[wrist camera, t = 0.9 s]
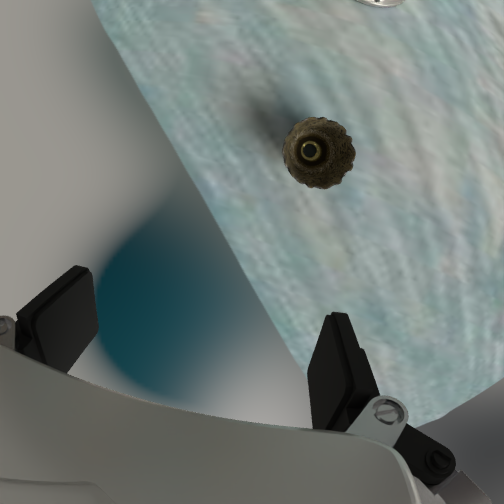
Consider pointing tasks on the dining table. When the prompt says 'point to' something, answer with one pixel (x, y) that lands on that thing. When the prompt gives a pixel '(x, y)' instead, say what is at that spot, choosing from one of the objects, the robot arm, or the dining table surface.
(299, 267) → the dining table surface
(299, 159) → the dark tapered rough piece
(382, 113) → the dining table surface
